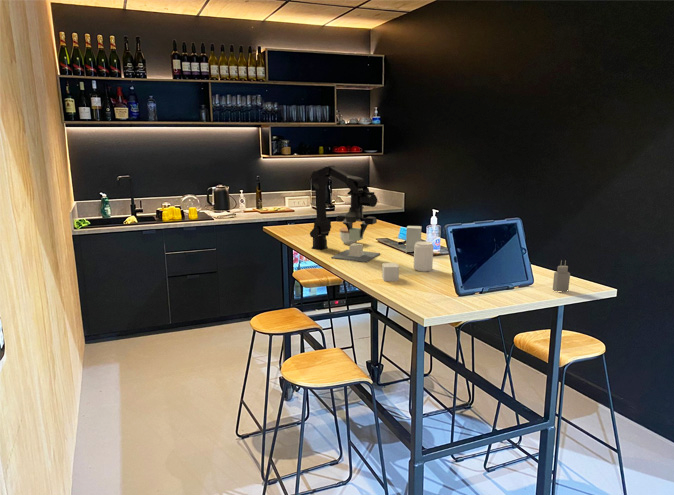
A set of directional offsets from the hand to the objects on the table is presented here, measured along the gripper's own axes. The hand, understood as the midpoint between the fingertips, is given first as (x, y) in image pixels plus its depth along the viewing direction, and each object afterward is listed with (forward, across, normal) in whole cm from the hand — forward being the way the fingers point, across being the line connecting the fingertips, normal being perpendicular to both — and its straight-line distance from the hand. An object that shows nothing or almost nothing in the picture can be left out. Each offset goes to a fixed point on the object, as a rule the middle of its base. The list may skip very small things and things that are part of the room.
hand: (356, 237), depth 242 cm
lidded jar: (+10, -15, +26) cm, 31 cm away
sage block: (+1, 0, 0) cm, 1 cm away
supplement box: (+10, +22, +22) cm, 33 cm away
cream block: (+9, 0, 0) cm, 9 cm away
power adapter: (+9, +92, -17) cm, 94 cm away
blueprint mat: (+9, 0, 0) cm, 9 cm away
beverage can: (+10, +36, -10) cm, 39 cm away
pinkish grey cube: (+10, +28, -30) cm, 42 cm away
